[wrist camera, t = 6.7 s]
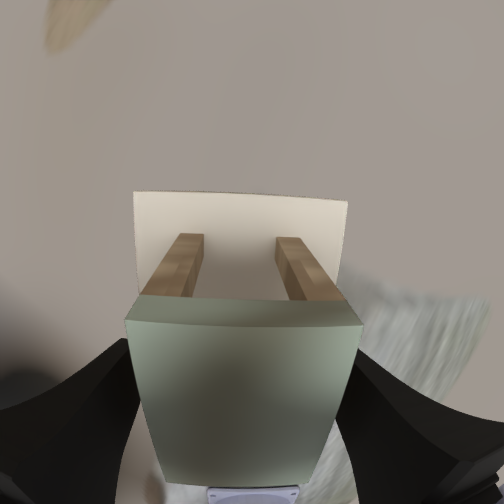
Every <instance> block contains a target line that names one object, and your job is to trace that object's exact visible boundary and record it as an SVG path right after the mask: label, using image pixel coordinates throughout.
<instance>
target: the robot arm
mask: <svg viewBox="0 0 504 504" xmlns="http://www.w3.org/2000/svg"><path fill="white" fill-rule="evenodd" d="M140 401H141V399H140V395H139V391H138V387H137V382H136V378H135V374H134V369H133V364H132V359H131V354H130V349H129V344H128V339H125V338H121V339H119V340H118V341H117V342H115V343H114V344H113V345H112V346H110V347H109V348H108V349H107V350H105V351H104V352H103V353H102V354H100V355H99V356H98V357H97V358H95V359H94V360H93V361H91V362H90V363H89V364H88V365H86V366H85V367H84V368H82V369H81V370H79V371H78V372H77V373H75V374H73V375H72V376H71V377H69V378H68V379H66V380H65V381H64V382H62V383H60V384H58V385H57V386H55V387H53V388H52V389H50V390H48V391H46V392H44V393H42V394H41V395H38V396H36V397H34V398H31V399H30V400H27V401H25V402H22V403H20V404H18V405H15V406H12V407H9V408H6V409H3V410H0V504H115V496H116V488H117V481H118V475H119V469H120V464H121V459H122V455H123V452H124V448H125V446H126V442H127V440H128V437H129V434H130V431H131V428H132V425H133V422H134V419H135V417H136V414H137V411H138V408H139V405H140ZM335 419H336V422H337V425H338V427H339V430H340V433H341V435H342V438H343V441H344V443H345V446H346V449H347V451H348V454H349V457H350V461H351V464H352V468H353V473H354V477H355V482H356V487H357V493H358V498H359V504H504V484H503V485H502V486H500V487H499V488H498V487H497V485H496V484H495V483H496V482H498V481H499V477H498V475H497V473H496V472H497V471H498V470H499V469H500V468H501V467H502V466H503V465H504V423H503V422H497V421H492V420H486V419H482V418H478V417H474V416H471V415H468V414H465V413H462V412H459V411H456V410H454V409H451V408H449V407H446V406H444V405H442V404H440V403H438V402H436V401H434V400H432V399H430V398H428V397H426V396H424V395H422V394H420V393H419V392H417V391H415V390H414V389H412V388H411V387H409V386H408V385H406V384H405V383H403V382H402V381H400V380H399V379H397V378H396V377H394V376H393V375H392V374H390V373H389V372H388V371H386V370H385V369H384V368H382V367H381V366H380V365H379V364H377V363H376V362H375V361H373V360H372V359H371V358H370V357H368V356H367V355H366V354H365V353H363V352H362V351H361V350H359V349H357V352H356V356H355V359H354V363H353V366H352V369H351V373H350V376H349V379H348V382H347V385H346V388H345V391H344V394H343V397H342V400H341V403H340V406H339V409H338V411H337V414H336V417H335ZM299 492H300V488H299V487H297V486H295V487H282V488H264V489H218V488H210V489H208V490H207V496H208V503H209V504H294V502H295V500H296V498H297V496H298V494H299Z"/></svg>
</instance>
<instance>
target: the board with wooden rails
mask: <svg viewBox="0 0 504 504" xmlns="http://www.w3.org/2000/svg"><path fill="white" fill-rule="evenodd" d="M203 258H204V234H195V233H180V234H179V236H178V237H177V238H176V240H175V241H174V243H173V244H172V246H171V247H170V249H169V250H168V252H167V253H166V255H165V256H164V258H163V259H162V261H161V262H160V264H159V265H158V267H157V268H156V270H155V272H154V273H153V275H152V276H151V278H150V279H149V281H148V282H147V284H146V286H145V287H144V289H143V290H142V292H141V293H140V295H139V297H138V298H137V300H136V302H135V303H134V305H133V307H132V308H131V310H130V311H129V313H128V315H127V316H126V318H125V326H126V333H127V338H128V344H129V349H130V354H131V359H132V364H133V369H134V374H135V378H136V382H137V387H138V391H139V395H140V399H141V403H142V407H143V411H144V414H145V418H146V421H147V425H148V428H149V432H150V435H151V438H152V442H153V445H154V448H155V451H156V454H157V457H158V460H159V463H160V466H161V469H162V472H163V475H164V478H165V480H166V482H168V483H177V484H186V485H198V486H215V487H266V486H283V485H295V484H305V483H308V482H309V480H310V478H311V476H312V474H313V471H314V469H315V467H316V465H317V462H318V460H319V458H320V455H321V453H322V450H323V448H324V445H325V443H326V441H327V438H328V435H329V433H330V430H331V428H332V425H333V422H334V420H335V417H336V414H337V411H338V409H339V406H340V403H341V400H342V397H343V394H344V391H345V388H346V385H347V382H348V379H349V376H350V373H351V369H352V366H353V363H354V359H355V356H356V352H357V349H358V345H359V342H360V338H361V334H362V330H363V327H364V325H363V323H362V322H361V321H360V319H359V318H358V316H357V315H356V313H355V312H354V311H353V309H352V308H351V306H350V305H349V304H348V302H347V301H346V299H345V298H344V297H343V295H342V294H341V292H340V291H339V290H338V288H337V287H336V286H335V284H334V283H333V281H332V280H331V279H330V277H329V276H328V275H327V273H326V272H325V271H324V269H323V268H322V266H321V265H320V264H319V262H318V261H317V260H316V258H315V257H314V256H313V254H312V253H311V252H310V250H309V249H308V248H307V246H306V245H305V244H304V242H303V241H302V240H301V239H300V238H296V237H276V248H275V262H276V265H277V267H278V270H279V273H280V275H281V278H282V281H283V284H284V286H285V289H286V292H287V295H288V297H289V300H242V299H214V298H192V296H193V292H194V289H195V285H196V282H197V278H198V275H199V271H200V268H201V264H202V261H203Z"/></svg>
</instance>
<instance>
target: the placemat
mask: <svg viewBox="0 0 504 504" xmlns="http://www.w3.org/2000/svg"><path fill="white" fill-rule="evenodd" d="M133 194H134V196H133V197H134V233H135V251H136V266H137V279H138V290H139V295H140V293H141V292H142V290H143V289H144V287H145V286H146V284H147V282H148V281H149V279H150V278H151V276H152V275H153V273H154V272H155V270H156V268H157V267H158V265H159V264H160V262H161V261H162V259H163V258H164V256H165V255H166V253H167V252H168V250H169V249H170V247H171V246H172V244H173V243H174V241H175V240H176V238H177V237H178V236H179V234H180V233H195V234H204V258H203V261H202V264H201V268H200V271H199V275H198V278H197V282H196V285H195V289H194V292H193V296H192V298H214V299H242V300H289V297H288V295H287V292H286V289H285V286H284V284H283V281H282V278H281V275H280V273H279V270H278V267H277V265H276V262H275V248H276V237H296V238H300V239H301V240H302V241H303V242H304V244H305V245H306V246H307V248H308V249H309V250H310V252H311V253H312V254H313V256H314V257H315V258H316V260H317V261H318V262H319V264H320V265H321V266H322V268H323V269H324V271H325V272H326V273H327V275H328V276H329V277H330V279H331V280H332V281H333V283H334V284H335V286H336V283H337V277H338V271H339V265H340V258H341V252H342V245H343V238H344V230H345V223H346V215H347V207H348V202H347V201H345V200H336V199H326V198H312V197H300V196H286V195H271V194H254V193H233V192H232V193H231V192H204V191H134V193H133Z"/></svg>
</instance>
